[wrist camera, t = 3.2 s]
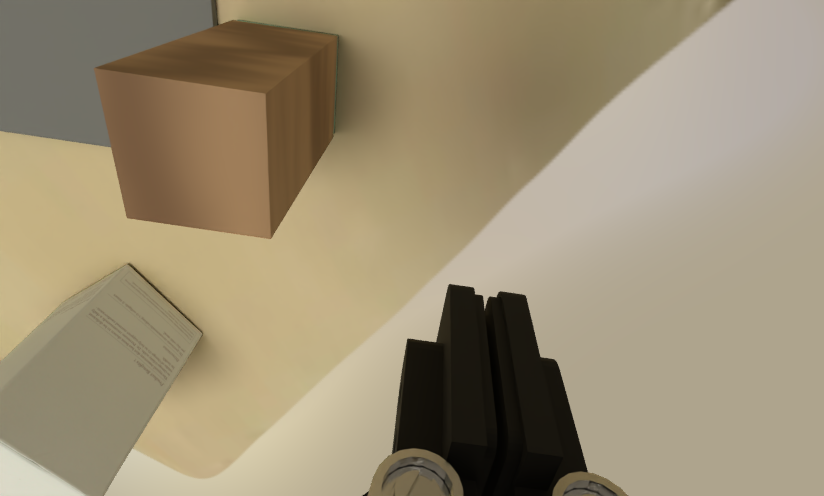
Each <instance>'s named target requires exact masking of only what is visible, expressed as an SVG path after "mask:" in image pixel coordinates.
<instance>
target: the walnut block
mask: <svg viewBox="0 0 824 496" xmlns="http://www.w3.org/2000/svg"><path fill="white" fill-rule="evenodd" d="M337 59H338V35H334V34H327V33H321V32H314V31H308V30H301V29H294V28H288V27H281V26H274V25H268V24H261V23H255V22H248V21H241V20H237V21H236V20H232V21H229V22H226V23H223V24H220V25H217V26H214V27H211V28H209V29H206V30H203V31H200V32H197V33H194V34H191V35H188V36H185V37H182V38H180V39H177V40H174V41H171V42H168V43H165V44H162V45H159V46H156V47H153V48H150V49H148V50H145V51H142V52H139V53H136V54H133V55H130V56H127V57H124V58H121V59H119V60H116V61H113V62H110V63H107V64H104V65H101V66H98V67H95V68H94V72H95V76H96V81H97V85H98V90H99V94H100V99H101V103H102V108H103V112H104V117H105V121H106V126H107V130H108V135H109V139H110V144H111V148H112V153H113V157H114V162H115V166H116V171H117V175H118V180H119V184H120V189H121V193H122V198H123V202H124V207H125V211H126V216H127V218H130V219H137V220H144V221H151V222H158V223H164V224H171V225H178V226H185V227H192V228H199V229H206V230H213V231H219V232H226V233H233V234H240V235H247V236H254V237H261V238H267V239H271V238H272V236H273V235H274V233H275V231H276V230H277V228H278V226H279V225H280V223H281V221H282V220H283V218H284V217H285V215H286V213H287V212H288V210H289V208H290V207H291V205H292V203H293V202H294V200H295V199H296V197H297V195H298V194H299V192H300V190H301V189H302V187H303V185H304V184H305V182H306V181H307V179H308V177H309V176H310V174H311V172H312V171H313V169H314V168H315V166H316V164H317V163H318V161H319V159H320V158H321V156H322V154H323V153H324V151H325V150H326V148H327V146H328V145H329V143H330V141H331V140H332V138H333V134H334V130H335V106H336V82H337Z"/></svg>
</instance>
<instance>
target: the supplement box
mask: <svg viewBox="0 0 824 496" xmlns="http://www.w3.org/2000/svg"><path fill="white" fill-rule="evenodd" d="M201 336H202V333H201V332H200V331H199V330H198V329H197V328H196V327H195V326H194V325H193V324H191V323H190V322H189V321H188V320H187V319H186V318H185V317H184V316H183V315H182V314H181V313H180V312H179V311H177V310H176V309H175V308H174V307H173V306H172V305H171V304H170V303H169V302H168V301H167V300H166V299H165V298H163V297H162V296H161V295H160V294H159V293H158V292H157V291H156V290H155V289H154V288H153V287H152V286H151V285H150V284H149V283H147V282H146V281H145V280H144V279H143V278H142V277H141V276H140V275H139V274H138V273H137V272H136V271H135V270H133V268H131V267H130V266H129V265H125V266H123V267H122V268H120V269H118V270H117V271H115V272H113V273H112V274H110V275H108V276H107V277H105V278H103V279H101V280H100V281H98V282H97V283H95V284H93V285H91V286H90V287H88V288H86V289H85V290H83V291H81V292H80V293H78V294H76V295H74V296H73V297H71V298H69V299H68V300H66V301H64V302H63V303H61V304H60V305H59V306H58V307H57V308H56V309H55V310H54V311H53V312H52V313H51V314H50V315H49V316H48V317H47V318H46V319H45V320H44V321H43V322H42V323H41V324H40V325H39V326H37V327H36V328H35V329H34V330H33V331H32V332H31V333H30V334H29V335H28V336H27V337H26V338H25V339H24V340H23V341H22V342H21V343H19V344H18V345H17V346H16V347H15V348H14V349H13V350H12V351H11V352H10V353H9V354H8V355H7V356H6V357H5V358H4V359H3V360H2V361H0V496H104V495H105V493H106V491H107V489H108V487H109V486H110V484H111V483H112V481H113V479H114V477H115V476H116V474H117V473H118V471H119V469H120V468H121V466H122V464H123V463H124V461H125V459H126V458H127V456H128V454H129V453H130V451H131V450H132V448H133V447H134V445H135V443H136V442H137V440H138V439H139V437H140V435H141V434H142V432H143V430H144V429H145V427H146V426H147V424H148V422H149V421H150V419H151V418H152V416H153V414H154V413H155V411H156V410H157V408H158V406H159V405H160V403H161V401H162V400H163V398H164V397H165V395H166V393H167V392H168V390H169V389H170V387H171V385H172V384H173V382H174V381H175V379H176V377H177V376H178V374H179V372H180V371H181V369H182V368H183V366H184V364H185V363H186V361H187V359H188V357H189V356H190V354H191V352H192V351H193V349H194V348H195V346H196V344H197V343H198V341H199V339H200V338H201Z"/></svg>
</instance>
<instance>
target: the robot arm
mask: <svg viewBox="0 0 824 496" xmlns="http://www.w3.org/2000/svg"><path fill="white" fill-rule="evenodd" d="M363 496H628V495H627V494H626V493H625V492H624V491H623V490H622V489H621V488H620V487H618V486H617V485H615V484H614V483H612V482H611V481H609V480H608V479H606V478H604V477H601V476H599V475H596V474H594V473H588V471H587V467H586V464H585V460H584V456H583V453H582V449H581V445H580V442H579V438H578V434H577V431H576V427H575V424H574V420H573V416H572V413H571V410H570V405H569V402H568V398H567V394H566V391H565V387H564V384H563V380H562V377H561V373H560V369H559V366H558V364H557V362H556V361H555V360H554V359H548V358H541V357H540V354H539V349H538V346H537V341H536V337H535V332H534V328H533V324H532V320H531V316H530V311H529V307H528V303H527V298H526V296H525V295H522V294H515V293H507V292H499V293H498V295H497V297H489V298H488V301H487V304H486V308H485V310H484V301H483V296H482V295H475V291H474V288H473V287H466V286H459V285H452V284H449V286H448V289H447V293H446V298H445V303H444V308H443V312H442V317H441V322H440V327H439V332H438V336H437V342H429V341H422V340H415V339H407V344H406V350H405V356H404V362H403V368H402V375H401V382H400V389H399V397H398V406H397V415H396V424H395V433H394V442H393V451H392V455H389V456H388V457H387V458H386V459H385V460H384V461H383V462H382V463H381V464H380V465H379V467H378V469H377V471H376V473H375V474H374V476H373V480H372V483H371V486H370V490H369V491H368V492H367V493H366V494H365V495H363Z"/></svg>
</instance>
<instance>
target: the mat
mask: <svg viewBox="0 0 824 496" xmlns="http://www.w3.org/2000/svg"><path fill="white" fill-rule="evenodd" d="M214 26H217V13H216V1H215V0H0V131H4V132H11V133H18V134H25V135H31V136H38V137H45V138H52V139H58V140H65V141H72V142H79V143H86V144H92V145H99V146H106V147H111V144H110V139H109V135H108V130H107V126H106V121H105V117H104V112H103V108H102V103H101V99H100V94H99V90H98V85H97V81H96V76H95V72H94V68H95V67H98V66H101V65H104V64H107V63H110V62H113V61H116V60H119V59H121V58H124V57H127V56H130V55H133V54H136V53H139V52H142V51H145V50H148V49H150V48H153V47H156V46H159V45H162V44H165V43H168V42H171V41H174V40H177V39H180V38H182V37H185V36H188V35H191V34H194V33H197V32H200V31H203V30H206V29H209V28H211V27H214Z"/></svg>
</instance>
